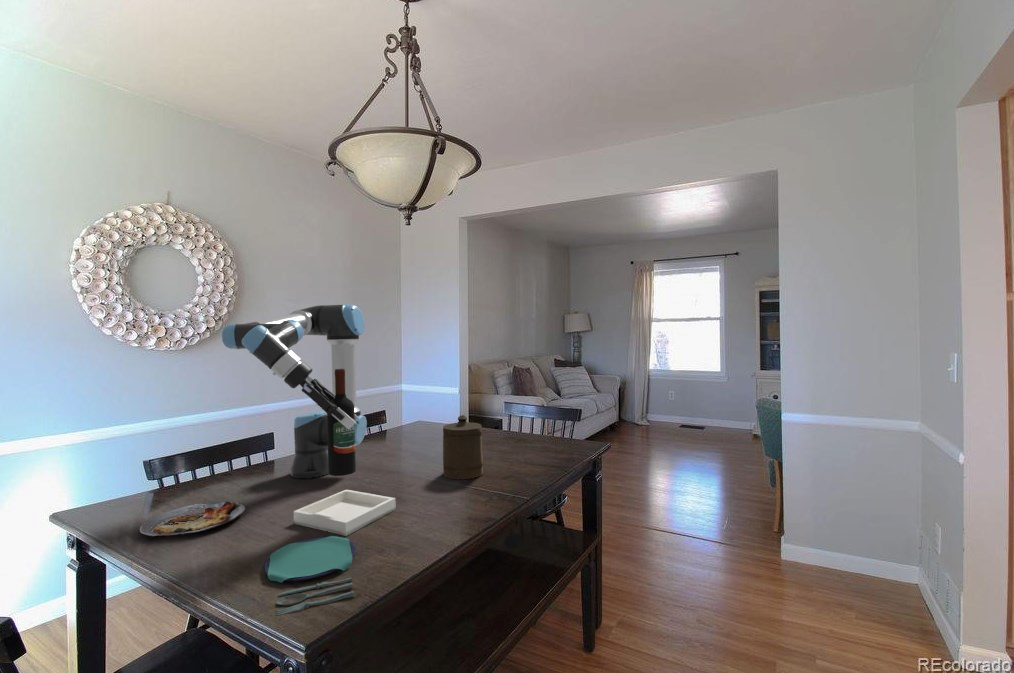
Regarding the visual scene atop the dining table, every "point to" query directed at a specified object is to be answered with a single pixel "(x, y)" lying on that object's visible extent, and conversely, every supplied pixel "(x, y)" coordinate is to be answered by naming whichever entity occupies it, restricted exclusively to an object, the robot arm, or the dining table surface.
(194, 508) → the food plate
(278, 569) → the cutlery set
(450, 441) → the wooden container
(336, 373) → the wine bottle
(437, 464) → the dining table surface
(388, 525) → the dining table surface
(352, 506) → the tray
